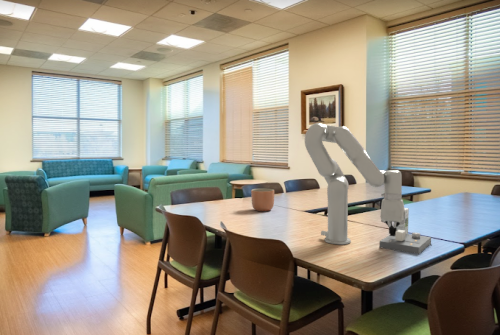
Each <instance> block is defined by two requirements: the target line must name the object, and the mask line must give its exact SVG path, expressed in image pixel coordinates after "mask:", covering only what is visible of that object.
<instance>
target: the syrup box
mask: <svg viewBox="0 0 500 335" xmlns="http://www.w3.org/2000/svg"><path fill="white" fill-rule="evenodd" d="M404 209H405V220H404V221H405V224H402V225H399V226H397V231H398V230H405V231H406V234H409V218H410V216H409V215H410V214H409V212H410V211H409V210H410V209H409V208H408V207H404Z"/></svg>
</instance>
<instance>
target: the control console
mask: <svg viewBox="0 0 500 335" xmlns="http://www.w3.org/2000/svg"><path fill="white" fill-rule="evenodd" d="M395 236H396V235H395ZM395 236H390V234H389V235H387V236H385V237H384V238H382V239H381V240H379V248H381V249H386V250H390V251H391V250H392V251H398V252H404V253H409V254H415V255H420V254H421V253H422V252H423V251H424V250H426V248H428V247H429V246H430V245H431V244H432V237H431V236H424V235H421V233H420V232H412V233H411V234H410V233H408V234H406V236H405V240H403V241H397V240H395Z"/></svg>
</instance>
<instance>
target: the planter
mask: <svg viewBox="0 0 500 335" xmlns="http://www.w3.org/2000/svg"><path fill="white" fill-rule="evenodd" d="M250 192H251V193H250V194H251V197H250V198H251V207H252V208H253V209H254V210H255V211H256V210H257V212H269V211H271V210H272V209H273V207H274V204H275V189H273V188H253V189H251V190H250Z"/></svg>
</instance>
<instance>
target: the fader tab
mask: <svg viewBox="0 0 500 335" xmlns="http://www.w3.org/2000/svg"><path fill="white" fill-rule="evenodd" d="M405 236H406V231H405V230H398V231H396V236H395V240H397V241H403V240H405Z"/></svg>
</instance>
